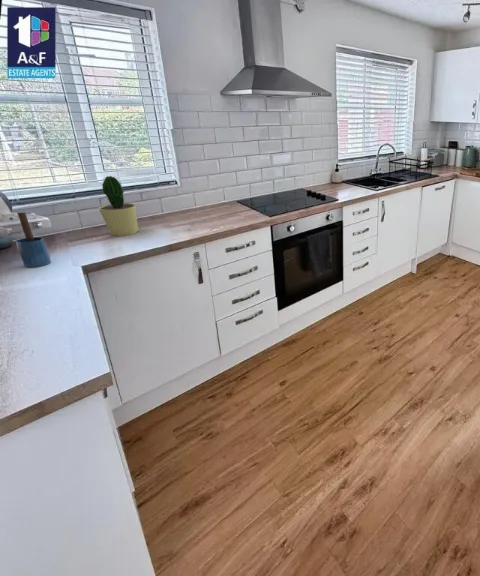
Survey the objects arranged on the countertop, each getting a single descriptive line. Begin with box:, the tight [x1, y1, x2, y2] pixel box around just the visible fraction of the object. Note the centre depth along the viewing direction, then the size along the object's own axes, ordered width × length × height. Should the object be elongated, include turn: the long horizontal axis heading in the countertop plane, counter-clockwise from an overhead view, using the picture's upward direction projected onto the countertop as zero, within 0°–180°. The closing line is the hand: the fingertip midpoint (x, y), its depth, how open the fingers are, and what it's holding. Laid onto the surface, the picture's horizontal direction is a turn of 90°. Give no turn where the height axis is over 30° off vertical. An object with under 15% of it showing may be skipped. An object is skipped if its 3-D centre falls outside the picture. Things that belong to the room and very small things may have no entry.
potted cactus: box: [98, 175, 139, 236], centre depth 184 cm, size 15×15×30 cm
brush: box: [16, 211, 34, 242], centre depth 143 cm, size 4×4×20 cm
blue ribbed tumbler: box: [15, 236, 52, 268], centre depth 145 cm, size 8×8×10 cm
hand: (26, 228), depth 141 cm, fingers open, 8 cm apart
